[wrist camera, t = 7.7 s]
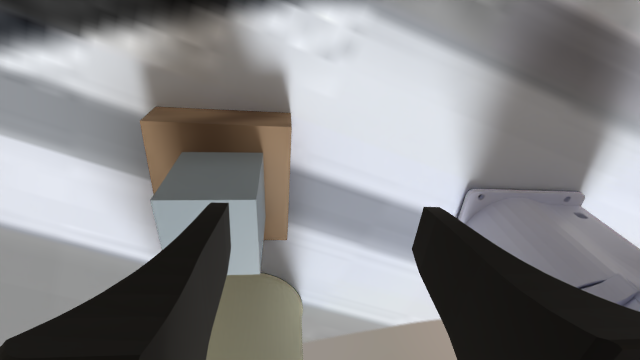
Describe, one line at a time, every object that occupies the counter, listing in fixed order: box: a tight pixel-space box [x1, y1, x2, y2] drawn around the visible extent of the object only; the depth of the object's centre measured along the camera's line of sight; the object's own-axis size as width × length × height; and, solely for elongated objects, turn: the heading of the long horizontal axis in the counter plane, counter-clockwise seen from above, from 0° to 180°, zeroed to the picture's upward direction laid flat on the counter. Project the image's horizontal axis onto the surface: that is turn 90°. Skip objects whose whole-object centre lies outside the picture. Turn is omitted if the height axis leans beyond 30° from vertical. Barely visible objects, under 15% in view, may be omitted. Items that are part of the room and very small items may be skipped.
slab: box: [140, 107, 291, 240], centre depth 21 cm, size 8×8×3 cm
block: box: [150, 152, 266, 275], centre depth 18 cm, size 4×4×5 cm
